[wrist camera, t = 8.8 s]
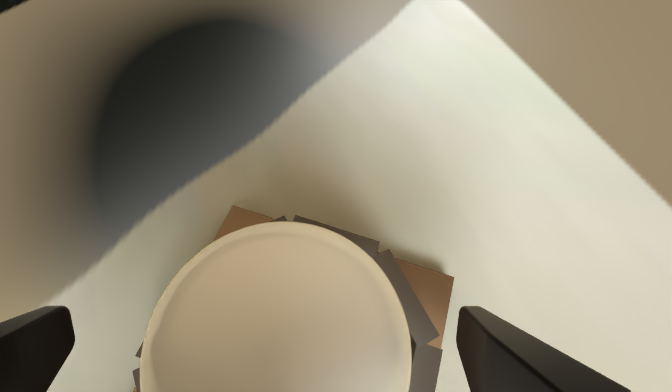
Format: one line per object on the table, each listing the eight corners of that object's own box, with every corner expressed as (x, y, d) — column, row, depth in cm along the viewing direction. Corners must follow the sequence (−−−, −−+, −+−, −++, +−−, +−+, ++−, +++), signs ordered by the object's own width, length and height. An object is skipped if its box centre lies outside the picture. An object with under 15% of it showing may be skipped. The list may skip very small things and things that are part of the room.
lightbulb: (228, 304, 18) (96, 196, 8) (361, 282, 18) (395, 156, 8) (233, 468, 15) (33, 626, 5) (391, 436, 15) (498, 523, 5)
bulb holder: (389, 587, 14) (406, 640, 11) (107, 460, 15) (52, 475, 12) (448, 283, 19) (471, 260, 16) (236, 213, 21) (221, 181, 18)
